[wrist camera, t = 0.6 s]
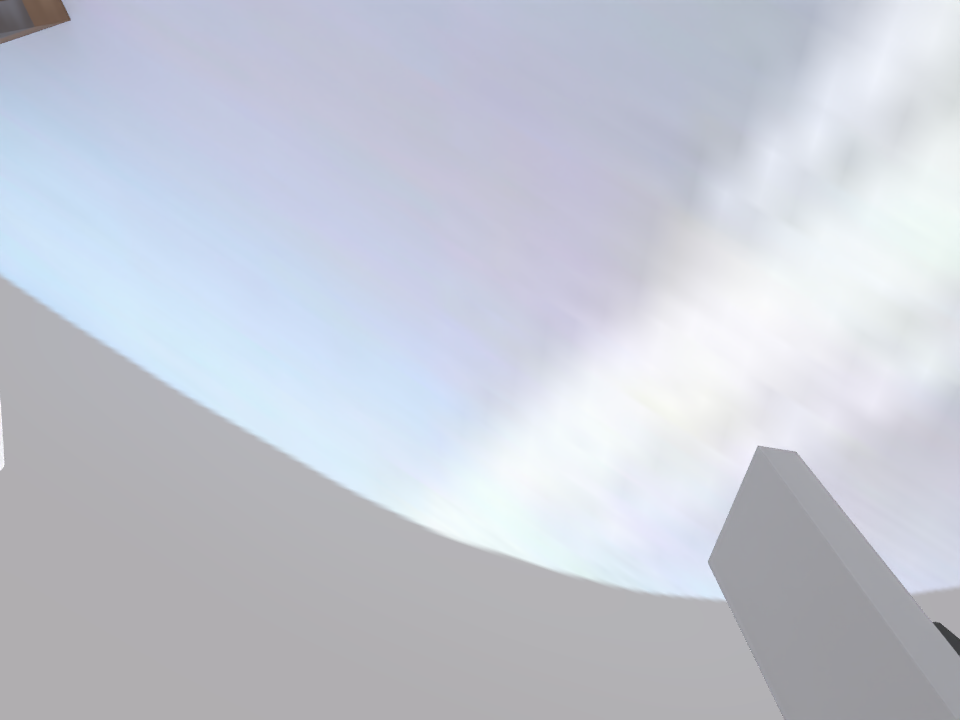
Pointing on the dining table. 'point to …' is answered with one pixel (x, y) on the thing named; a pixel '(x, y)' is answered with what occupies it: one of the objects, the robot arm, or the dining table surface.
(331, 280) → the dining table surface
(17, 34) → the dock
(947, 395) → the dining table surface
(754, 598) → the robot arm
